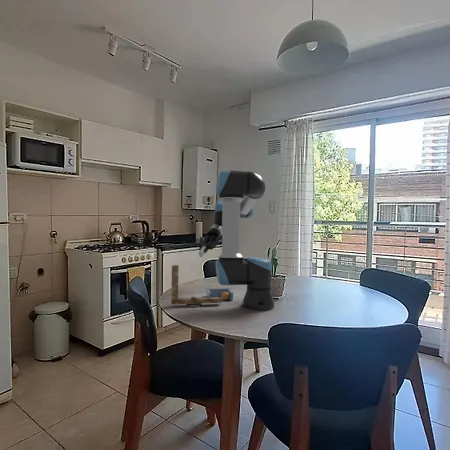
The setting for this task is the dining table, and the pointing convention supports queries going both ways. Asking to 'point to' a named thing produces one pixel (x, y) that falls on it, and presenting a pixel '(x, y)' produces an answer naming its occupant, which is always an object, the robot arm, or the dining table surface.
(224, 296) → the ball
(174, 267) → the lever
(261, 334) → the dining table surface
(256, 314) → the dining table surface
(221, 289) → the blue-gray u-shaped bracket
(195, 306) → the pivot base
